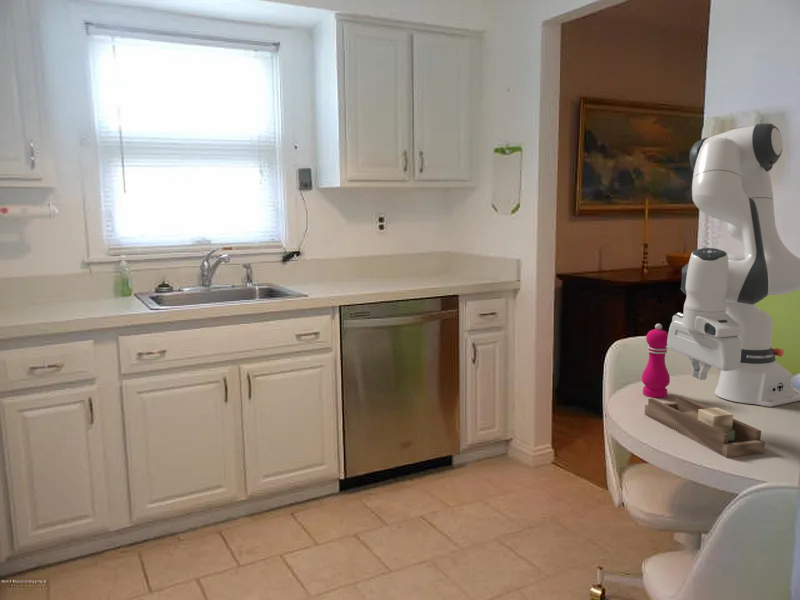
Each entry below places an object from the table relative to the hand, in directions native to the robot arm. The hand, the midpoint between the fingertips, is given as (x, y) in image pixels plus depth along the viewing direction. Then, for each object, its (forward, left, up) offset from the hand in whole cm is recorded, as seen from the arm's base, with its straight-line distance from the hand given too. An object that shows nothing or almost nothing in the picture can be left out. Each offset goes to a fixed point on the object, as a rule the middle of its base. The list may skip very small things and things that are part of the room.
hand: (698, 377), depth 152 cm
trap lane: (+1, +2, -12) cm, 13 cm away
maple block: (+1, +7, -10) cm, 12 cm away
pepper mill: (-7, -26, -13) cm, 29 cm away
